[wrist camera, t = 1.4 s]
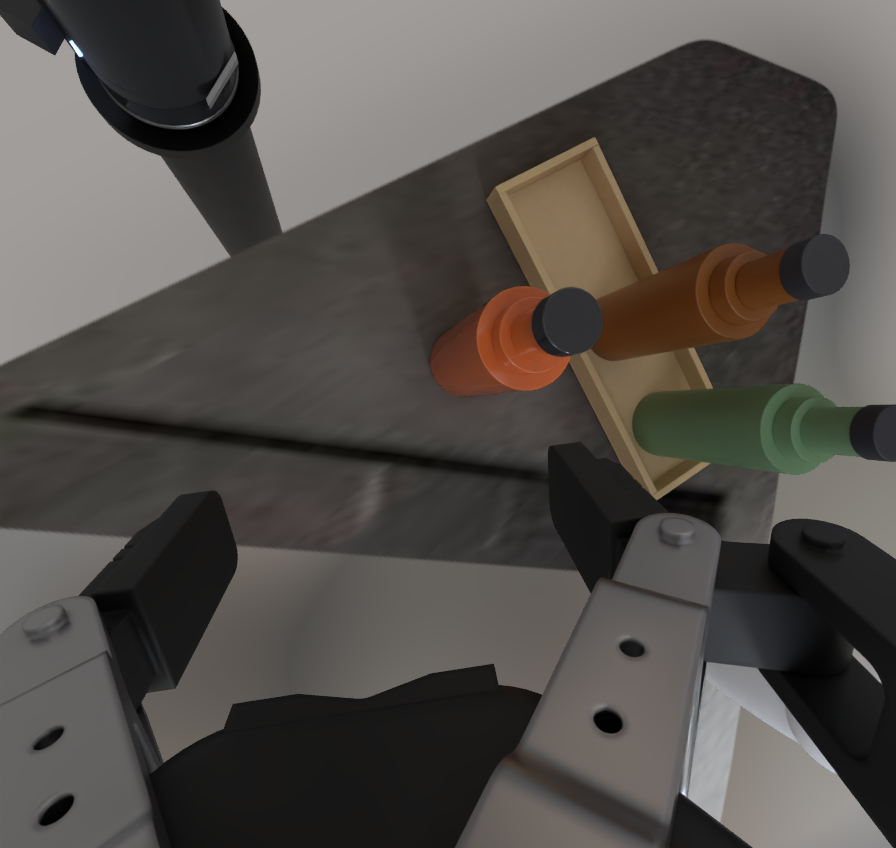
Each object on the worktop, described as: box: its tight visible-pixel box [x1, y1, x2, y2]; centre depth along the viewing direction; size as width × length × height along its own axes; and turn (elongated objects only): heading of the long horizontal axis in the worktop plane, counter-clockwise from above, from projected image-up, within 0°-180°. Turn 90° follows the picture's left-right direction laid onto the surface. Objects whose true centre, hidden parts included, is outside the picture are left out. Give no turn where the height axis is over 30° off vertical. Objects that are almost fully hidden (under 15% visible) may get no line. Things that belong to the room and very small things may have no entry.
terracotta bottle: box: [430, 286, 603, 397], centre depth 29 cm, size 5×5×18 cm
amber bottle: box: [591, 234, 850, 361], centre depth 31 cm, size 5×5×18 cm
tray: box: [486, 137, 713, 500], centre depth 39 cm, size 27×9×2 cm, turn 30°
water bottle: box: [705, 648, 882, 775], centre depth 29 cm, size 7×7×25 cm
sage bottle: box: [632, 384, 896, 475], centre depth 32 cm, size 5×5×18 cm
